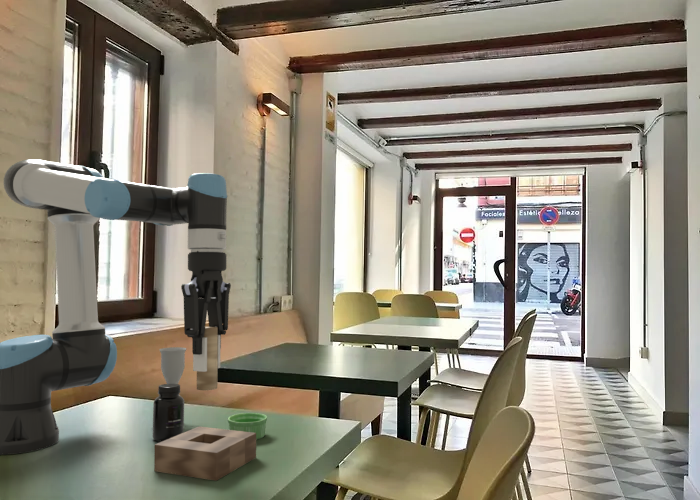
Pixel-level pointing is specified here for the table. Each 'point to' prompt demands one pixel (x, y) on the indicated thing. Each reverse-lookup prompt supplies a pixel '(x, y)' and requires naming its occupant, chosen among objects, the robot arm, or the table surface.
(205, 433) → the socket block
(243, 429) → the ramekin
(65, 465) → the table surface
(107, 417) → the table surface
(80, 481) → the table surface
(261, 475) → the table surface
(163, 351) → the chalice
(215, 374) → the peg
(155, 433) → the supplement bottle
